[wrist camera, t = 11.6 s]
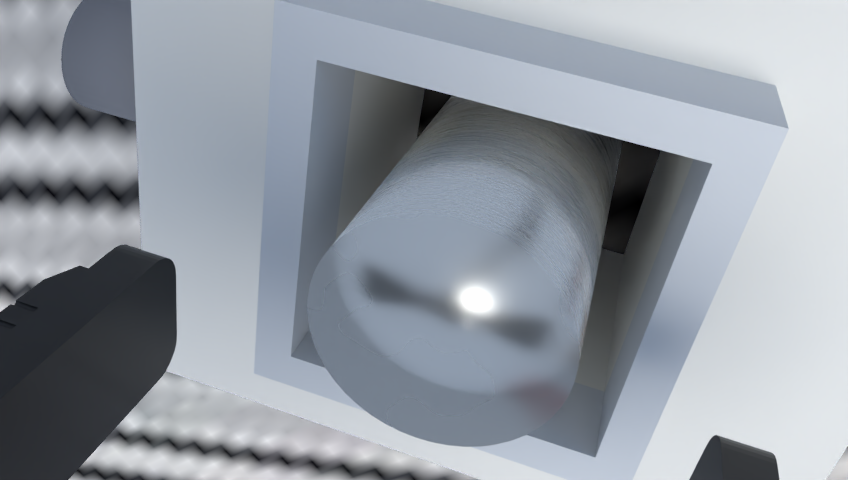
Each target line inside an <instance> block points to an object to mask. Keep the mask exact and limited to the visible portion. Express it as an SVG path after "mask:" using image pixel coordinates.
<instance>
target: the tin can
mask: <svg viewBox="0 0 848 480" xmlns="http://www.w3.org/2000/svg"><path fill="white" fill-rule="evenodd" d="M622 142H623V140H620V139H616V138H612V137H609V136H605V135H601V134H597V133H593V132H590V131H586V130H582V129H578V128H574V127H571V126H567V125H563V124H559V123H555V122H552V121H548V120H544V119H540V118H536V117H533V116H529V115H525V114H521V113H517V112H514V111H510V110H506V109H502V108H498V107H495V106H491V105H487V104H483V103H479V102H476V101H472V100H468V99H464V98H460V97H457V96H453V95H452V96H451V97H450V98H449V100H448V101H447V102H446V103H445V105H444V106H443V107H442V108H441V110H440V111H439V112H438V113H437V115H436V116H435V117H434V118H433V120H432V121H431V122H430V123H429V125H428V126H427V127H426V128H425V130H424V131H423V132H422V133H421V135H420V136H419V137H418V138H417V140H416V141H415V142H414V143H413V145H412V146H411V147H410V148H409V150H408V151H407V152H406V153H405V155H404V156H403V157H402V158H401V160H400V161H399V162H398V163H397V165H396V166H395V167H394V168H393V170H392V171H391V172H390V173H389V175H388V176H387V177H386V178H385V180H384V181H383V182H382V183H381V185H380V186H379V187H378V188H377V190H376V191H375V192H374V193H373V195H372V196H371V197H370V198H369V200H368V201H367V202H366V203H365V205H364V206H363V207H362V208H361V210H360V211H359V212H358V213H357V215H356V216H355V217H354V218H353V220H352V221H351V222H350V223H349V225H348V226H347V227H346V228H345V230H344V231H343V232H342V233H341V235H340V236H339V237H338V238H337V240H336V241H335V242H334V243H333V245H332V246H331V247H330V248H329V250H328V251H327V252H326V253H325V255H324V256H323V257H322V258H321V260H320V262H319V264H318V266H317V267H316V269H315V271H314V274H313V277H312V280H311V283H310V287H309V292H308V298H307V315H308V323H309V329H310V332H311V336H312V340H313V343H314V345H315V348H316V350H317V353H318V355H319V357H320V359H321V360H322V362H323V364H324V366H325V368H326V369H327V371H328V372H329V374H330V375H331V376H332V378H333V379H334V381H335V382H336V383H337V384H338V385H339V386H340V388H341V389H342V390H343V391H344V392H345V393H346V394H347V395H348V396H349V397H350V398H351V399H352V400H353V401H354V402H355V403H356V404H357V405H359V406H360V407H361V408H363V409H364V410H365V411H366V412H368V413H369V414H370V415H372V416H373V417H375V418H377V419H378V420H380V421H381V422H383V423H385V424H386V425H388V426H390V427H392V428H394V429H396V430H398V431H400V432H403V433H405V434H408V435H410V436H413V437H415V438H419V439H422V440H426V441H429V442H433V443H438V444H443V445H450V446H461V447H481V446H489V445H496V444H500V443H504V442H509V441H512V440H515V439H517V438H520V437H522V436H525V435H527V434H529V433H530V432H532V431H534V430H536V429H538V428H539V427H540V426H542V425H543V424H544V423H546V422H547V421H548V420H550V419H551V418H552V417H553V416H554V414H555V413H556V412H557V411H558V410H559V409H560V408H561V407H562V405H563V404H564V402H565V401H566V399H567V398H568V396H569V394H570V392H571V389H572V387H573V385H574V382H575V378H576V375H577V371H578V366H579V361H580V356H581V351H582V346H583V341H584V336H585V331H586V325H587V320H588V315H589V310H590V305H591V300H592V295H593V290H594V285H595V280H596V275H597V269H598V264H599V259H600V254H601V249H602V244H603V239H604V234H605V229H606V224H607V219H608V213H609V208H610V203H611V198H612V193H613V188H614V183H615V178H616V173H617V168H618V163H619V157H620V152H621V147H622Z"/></svg>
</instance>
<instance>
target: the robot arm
mask: <svg viewBox="0 0 848 480" xmlns="http://www.w3.org/2000/svg"><path fill="white" fill-rule="evenodd" d="M176 342H177V308H176V269H175V265H174V263H173V261H172V260H171V259H169V258H166V257H163V256H159V255H156V254H153V253H150V252H147V251H144V250H141V249H138V248H134V247H131V246H128V245H120V246H118V247H116V248H114V249H113V250H112V251H110V252H109V253H108V254H106V255H105V256H104V257H103V258H101V259H100V260H99V261H98V262H96V263H95V264H94V265H92V266H91V267H90V268H89V269H88V268H85V267H82V266H78V267H75V268H73V269H70V270H68V271H65V272H62V273H60V274H57V275H55V276H52V277H50V278H47V279H44V280H43V281H41V282H40V283H39V284H37V285H36V286H35V287H33V288H32V289H31V290H29V291H28V292H27V293H25V294H24V295H23V296H21V297H20V298H19V299H17V300H16V303H15V305H9V306H8V307H7V308H5V309H4V310H3V311H1V312H0V480H68V479H69V478H70V477H71V476H72V475H73V474H74V473H75V472H76V470H77V469H78V468H79V467H80V466H81V465H82V464H83V463H84V462H85V461H86V460H87V458H88V457H89V456H90V455H91V454H92V453H93V452H94V451H95V450H96V449H97V447H98V446H99V445H100V444H101V443H102V442H103V441H104V440H105V439H106V438H107V436H108V435H109V434H110V433H111V432H112V431H113V430H114V429H115V428H116V427H117V425H118V424H119V423H120V422H121V421H122V420H123V419H124V418H125V417H126V416H127V414H128V413H129V412H130V411H131V410H132V409H133V408H134V407H135V406H136V405H137V403H138V402H139V401H140V400H141V399H142V398H143V397H144V396H145V395H146V394H147V392H148V391H149V390H150V389H151V388H152V387H153V386H154V385H155V384H156V383H157V381H158V380H159V379H160V378H161V377H162V376H163V374H164V373H165V371H166V370H167V368H168V366H169V364H170V362H171V360H172V357H173V354H174V351H175V347H176ZM689 480H779V473H778V465H777V460H776V457H775V455H774V454H773V453H771V452H768V451H765V450H762V449H759V448H756V447H753V446H750V445H746V444H743V443H740V442H737V441H734V440H731V439H728V438H725V437H721V436H718V435H714V436H713V437H712V438H711V439H710V440H709V442H708V444H707V445H706V447H705V449H704V451H703V453H702V455H701V457H700V459H699V461H698V463H697V465H696V467H695V469H694V471H693V473H692V475H691V477H690V479H689Z"/></svg>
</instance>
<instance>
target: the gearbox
mask: <svg viewBox="0 0 848 480" xmlns="http://www.w3.org/2000/svg"><path fill="white" fill-rule="evenodd" d="M61 60H62V72H63V77H64V81H65V84H66V87H67V89H68V91H69V93H70V95H71V96H72V97H73V99H74V100H75V101H76V102H77V103H79V104H80V105H82V106H84V107H87V108H90V109H94V110H97V111H101V112H104V113H108V114H111V115H114V116H118V117H121V118H125V119H128V120H132V121H135V122H136V132H137V156H138V179H139V202H140V226H141V249H142V250H144V251H147V252H150V253H153V254H156V255H159V256H163V257H166V258H169V259H171V260H172V261H173V263H174V265H175V269H176V308H177V342H176V347H175V351H174V354H173V357H172V360H171V362H170V364H169V366H168V368H167V370H166V371H167V372H170V373H173V374H176V375H179V376H182V377H185V378H187V379H190V380H193V381H196V382H199V383H202V384H205V385H208V386H211V387H214V388H216V389H219V390H222V391H225V392H228V393H231V394H234V395H237V396H240V397H243V398H245V399H248V400H251V401H254V402H257V403H260V404H263V405H266V406H269V407H271V408H274V409H277V410H280V411H283V412H286V413H289V414H292V415H295V416H298V417H300V418H303V419H306V420H309V421H312V422H315V423H318V424H321V425H324V426H327V427H329V428H332V429H335V430H338V431H341V432H344V433H347V434H350V435H353V436H355V437H358V438H361V439H364V440H367V441H370V442H373V443H376V444H379V445H382V446H384V447H387V448H390V449H393V450H396V451H399V452H402V453H405V454H408V455H410V456H413V457H416V458H419V459H422V460H425V461H428V462H431V463H434V464H437V465H439V466H442V467H445V468H448V469H451V470H454V471H457V472H460V473H463V474H466V475H468V476H471V477H474V478H477V479H480V480H689V479H690V477H691V475H692V473H693V471H694V469H695V467H696V465H697V463H698V461H699V459H700V457H701V455H702V453H703V451H704V449H705V447H706V445H707V444H708V442H709V440H710V439H711V438H712V437H713V436H714V435H718V436H721V437H725V438H728V439H731V440H734V441H737V442H740V443H743V444H746V445H750V446H753V447H756V448H759V449H762V450H765V451H768V452H771V453H773V454H774V455H775V457H776V460H777V465H778V473H779V480H826V479H827V477H828V476H829V474H830V473H831V471H832V470H833V468H834V467H835V465H836V463H837V462H838V460H839V459H840V457H841V456H842V454H843V453H844V451H845V449H846V448H847V446H848V0H83V1H82V2H81V4H80V5H79V6H78V7H77V9H76V10H75V12H74V13H73V15H72V17H71V19H70V21H69V24H68V26H67V29H66V32H65V36H64V40H63V46H62V59H61ZM425 88H426V89H430V90H434V91H438V92H441V93H445V94H449V95H453V96H457V97H460V98H464V99H468V100H472V101H476V102H479V103H483V104H487V105H491V106H495V107H498V108H502V109H506V110H510V111H514V112H517V113H521V114H525V115H529V116H533V117H536V118H540V119H544V120H548V121H552V122H555V123H559V124H563V125H567V126H571V127H574V128H578V129H582V130H586V131H590V132H593V133H597V134H601V135H605V136H609V137H612V138H616V139H620V140H624V141H628V142H631V143H635V144H639V145H643V146H647V147H650V148H654V149H658V150H661V151H660V154H659V157H658V160H657V163H656V165H655V168H654V171H653V174H652V177H651V179H650V182H649V185H648V188H647V191H646V194H645V196H644V199H643V202H642V205H641V208H640V210H639V213H638V216H637V219H636V222H635V224H634V227H633V230H632V233H631V236H630V239H629V241H628V244H627V247H626V250H625V253H624V254H620V253H617V252H613V251H610V250H606V249H603V248H602V249H601V254H600V259H599V264H598V269H597V275H596V280H595V285H594V290H593V295H592V300H591V305H590V310H589V315H588V320H587V325H586V331H585V336H584V341H583V346H582V351H581V356H580V361H579V366H578V371H577V375H576V378H575V382H574V385H573V387H572V389H571V392H570V394H569V396H568V398H567V399H566V401H565V402H564V404H563V405H562V407H561V408H560V409H559V410H558V411H557V412H556V413H555V414H554V416H553V417H552V418H551V419H550V420H548V421H547V422H546V423H544V424H543V425H542V426H540V427H539V428H538V429H536V430H534V431H532V432H530V433H529V434H527V435H525V436H522V437H520V438H517V439H515V440H512V441H509V442H504V443H500V444H496V445H489V446H481V447H461V446H450V445H443V444H438V443H433V442H429V441H426V440H422V439H419V438H415V437H413V436H410V435H408V434H405V433H403V432H400V431H398V430H396V429H394V428H392V427H390V426H388V425H386V424H385V423H383V422H381V421H380V420H378V419H377V418H375V417H373V416H372V415H370V414H369V413H368V412H366V411H365V410H364V409H363V408H361V407H360V406H359V405H357V404H356V403H355V402H354V401H353V400H352V399H351V398H350V397H349V396H348V395H347V394H346V393H345V392H344V391H343V390H342V389H341V388H340V386H339V385H338V384H337V383H336V382H335V381H334V379H333V378H332V376H331V375H330V374H329V372H328V371H327V369H326V368H325V366H324V364H323V362H322V360H321V359H320V357H319V355H318V353H317V350H316V348H315V345H314V343H313V340H312V336H311V332H310V329H309V323H308V315H307V298H308V292H309V287H310V283H311V280H312V277H313V274H314V271H315V269H316V267H317V266H318V264H319V262H320V260H321V258H322V257H323V256H324V255H325V253H326V252H327V251H328V250H329V248H330V247H331V246H332V245H333V243H334V242H335V241H336V240H337V238H338V237H339V236H340V235H341V233H342V232H343V231H344V230H345V228H346V227H347V226H348V225H349V223H350V222H351V221H352V220H353V218H354V217H355V216H356V215H357V213H358V212H359V211H360V210H361V208H362V207H363V206H364V205H365V203H366V202H367V201H368V200H369V198H370V197H371V196H372V195H373V193H374V192H375V191H376V190H377V188H378V187H379V186H380V185H381V183H382V182H383V181H384V180H385V178H386V177H387V176H388V175H389V173H390V172H391V171H392V170H393V168H394V167H395V166H396V165H397V163H398V162H399V161H400V160H401V158H402V157H403V156H404V155H405V153H406V152H407V151H408V150H409V148H410V147H411V146H412V145H413V143H414V142H415V141H416V139H417V133H418V127H419V121H420V115H421V109H422V103H423V97H424V91H425Z"/></svg>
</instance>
